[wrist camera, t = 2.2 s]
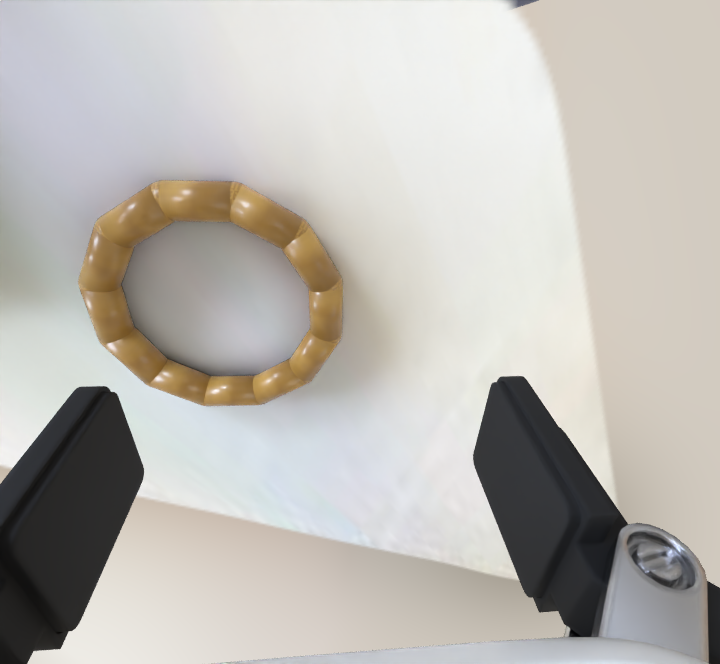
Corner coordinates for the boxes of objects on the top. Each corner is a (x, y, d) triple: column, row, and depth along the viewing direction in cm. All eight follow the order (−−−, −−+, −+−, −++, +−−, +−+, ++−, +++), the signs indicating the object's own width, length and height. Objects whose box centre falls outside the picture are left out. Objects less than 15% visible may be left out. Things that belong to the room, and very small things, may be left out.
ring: (54, 173, 12) (30, 182, 11) (343, 180, 13) (344, 189, 12) (130, 393, 17) (118, 414, 16) (340, 390, 18) (341, 409, 17)
